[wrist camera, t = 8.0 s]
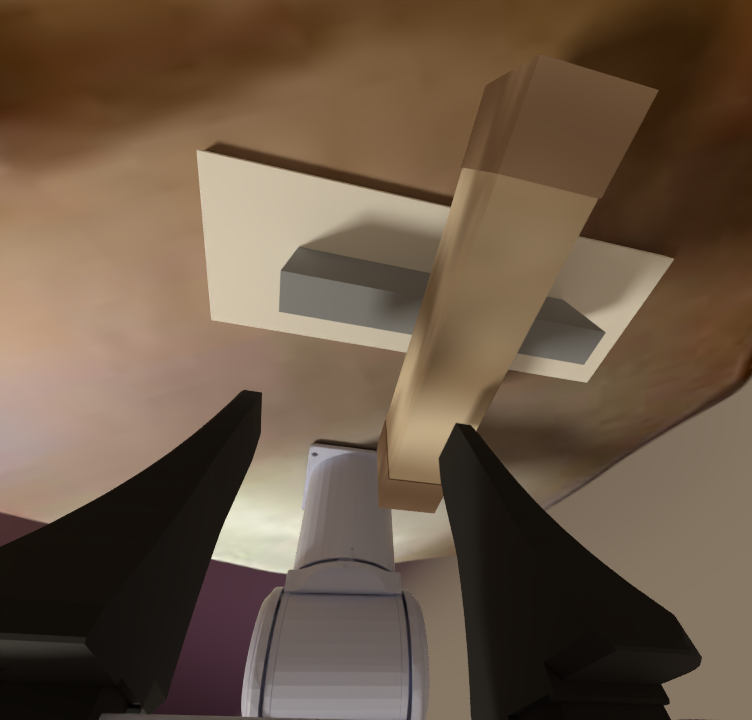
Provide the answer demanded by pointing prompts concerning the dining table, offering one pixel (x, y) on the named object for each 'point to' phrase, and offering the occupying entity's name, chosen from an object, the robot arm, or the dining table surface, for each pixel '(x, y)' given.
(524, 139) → the shiny metallic bar
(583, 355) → the ridge stand
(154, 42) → the dining table surface
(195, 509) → the robot arm
